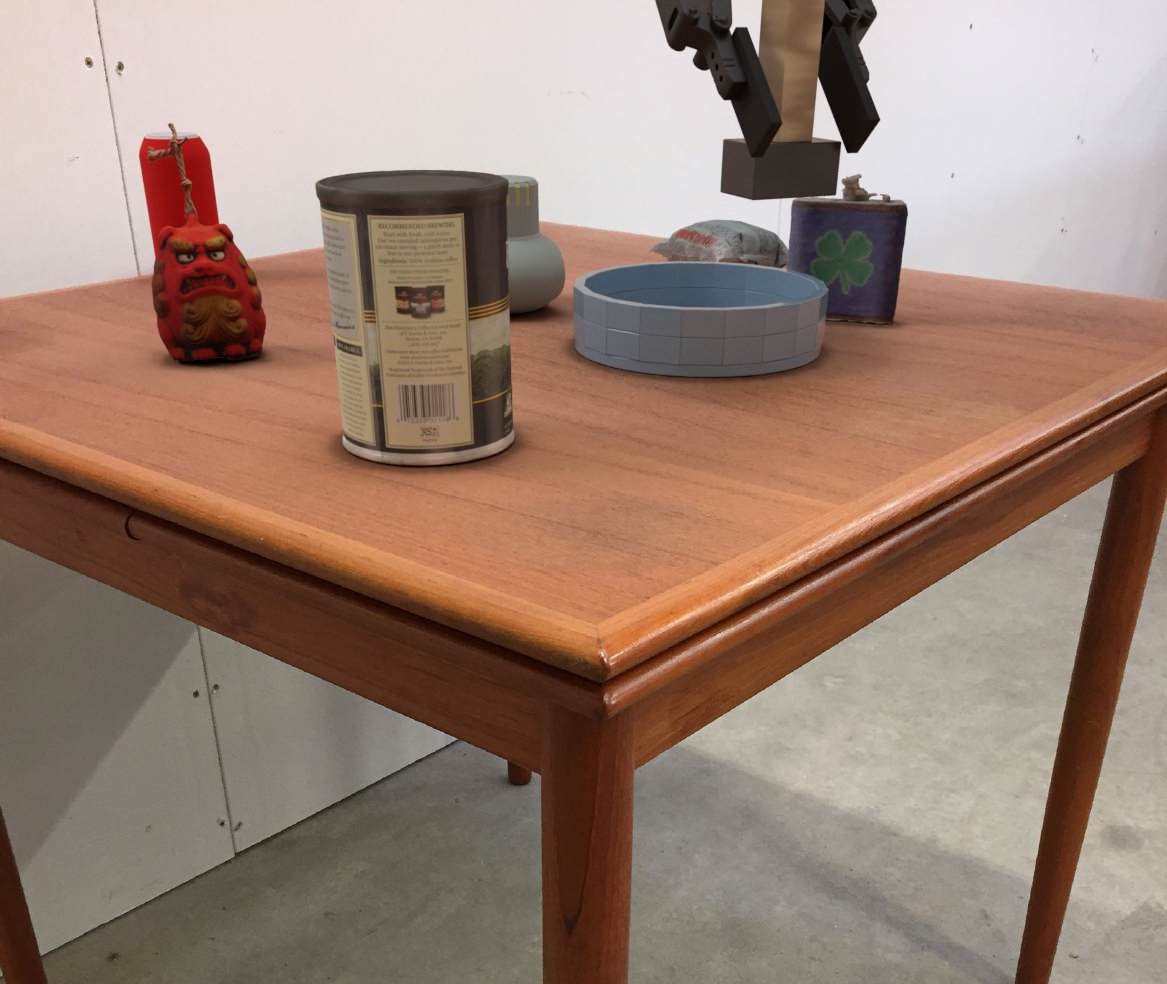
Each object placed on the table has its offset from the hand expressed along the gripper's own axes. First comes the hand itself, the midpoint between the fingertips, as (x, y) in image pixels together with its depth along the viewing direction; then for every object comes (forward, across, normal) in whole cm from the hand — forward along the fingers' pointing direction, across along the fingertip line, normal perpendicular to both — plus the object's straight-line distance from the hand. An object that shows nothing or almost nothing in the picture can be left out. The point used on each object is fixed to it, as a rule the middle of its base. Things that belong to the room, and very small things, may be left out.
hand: (815, 138), depth 74 cm
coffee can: (+10, +24, -13) cm, 29 cm away
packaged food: (-17, -17, -39) cm, 46 cm away
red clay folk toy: (-9, +32, -31) cm, 45 cm away
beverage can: (-31, +28, -54) cm, 68 cm away
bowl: (-1, -2, -23) cm, 23 cm away
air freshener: (-14, +6, -36) cm, 39 cm away
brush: (0, 0, -5) cm, 5 cm away
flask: (-4, -18, -26) cm, 32 cm away
